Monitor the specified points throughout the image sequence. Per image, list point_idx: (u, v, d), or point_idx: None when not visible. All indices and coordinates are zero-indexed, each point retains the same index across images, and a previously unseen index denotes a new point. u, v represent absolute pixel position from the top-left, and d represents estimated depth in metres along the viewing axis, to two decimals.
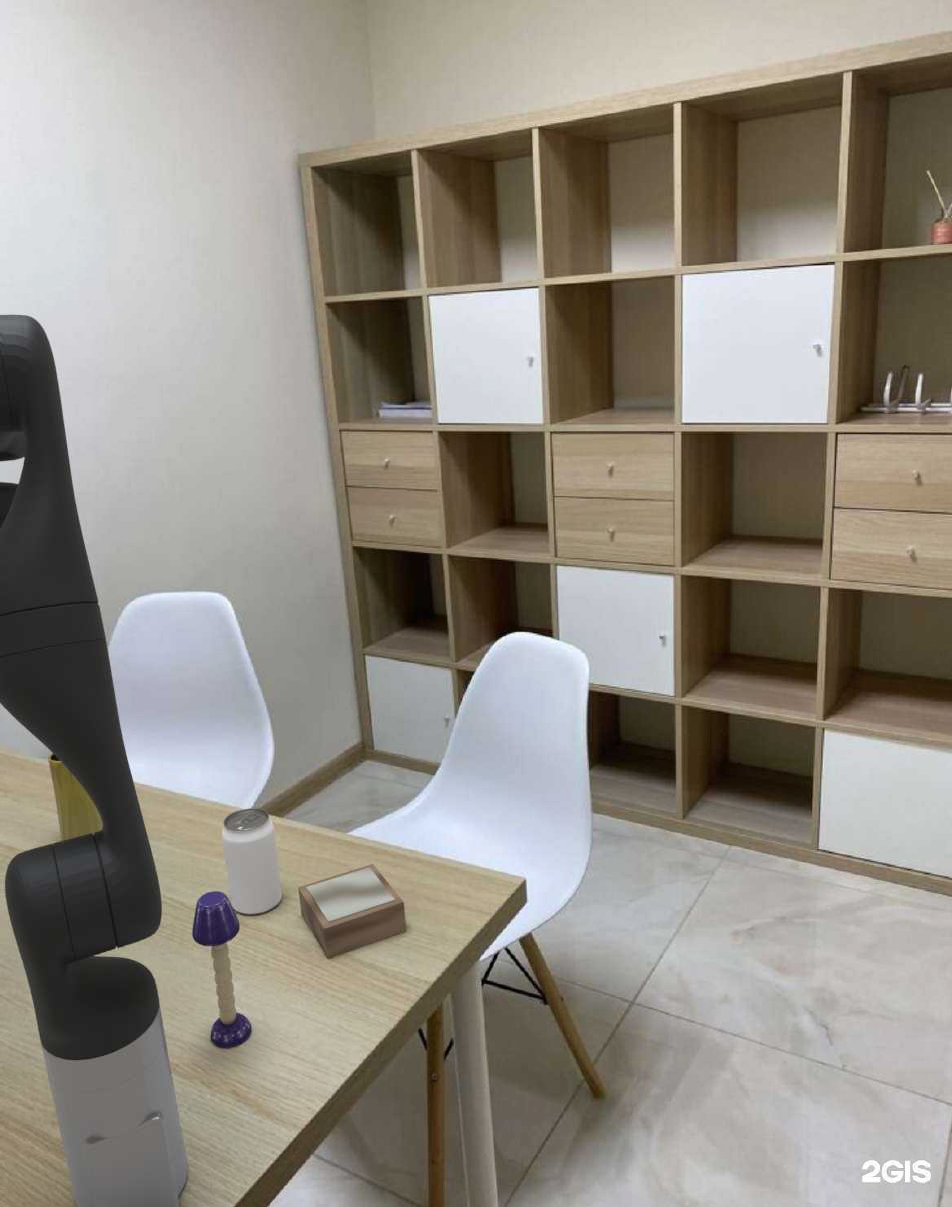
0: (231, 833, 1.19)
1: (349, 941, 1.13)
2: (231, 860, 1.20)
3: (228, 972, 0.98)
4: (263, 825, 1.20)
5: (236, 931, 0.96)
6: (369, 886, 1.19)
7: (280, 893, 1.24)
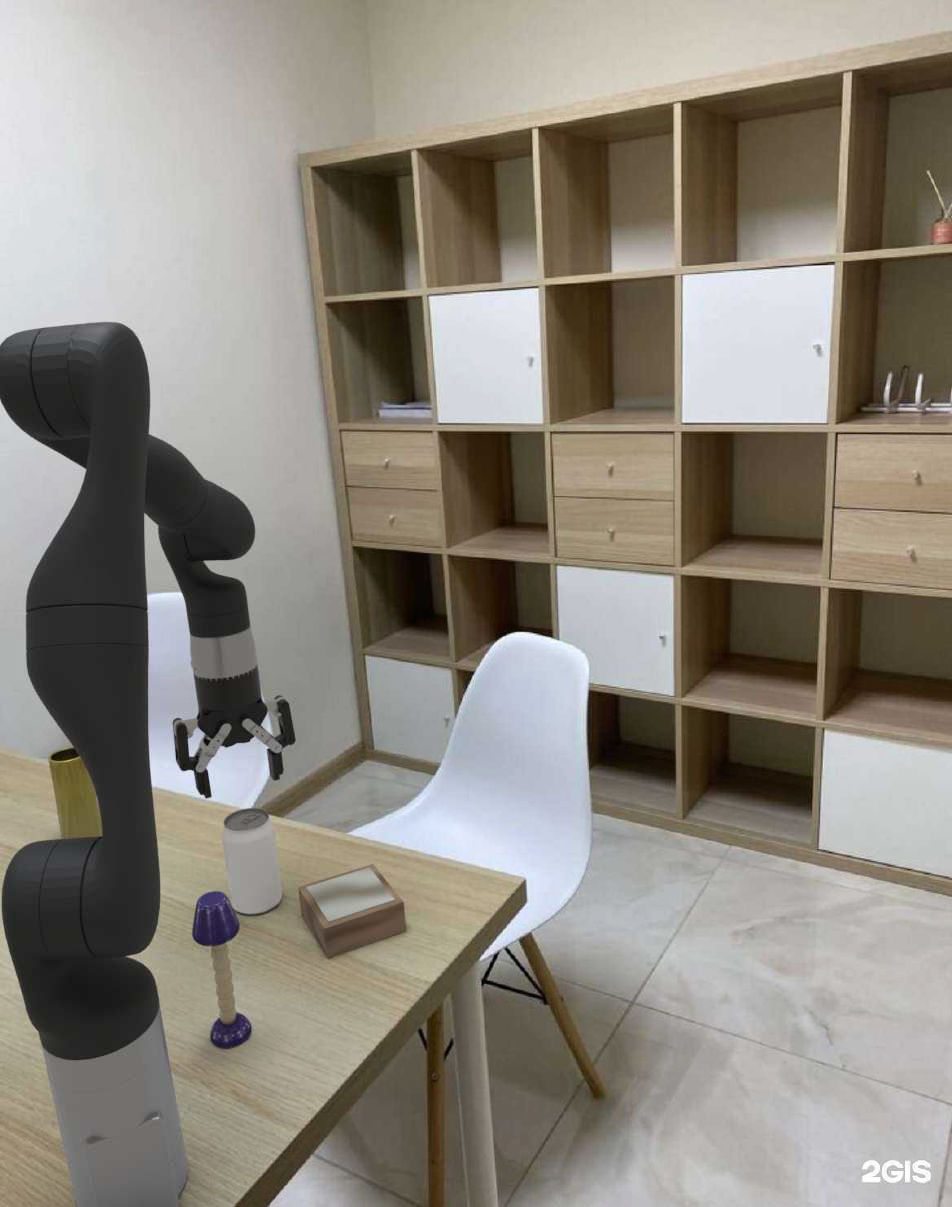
0: (231, 833, 1.19)
1: (349, 941, 1.13)
2: (231, 860, 1.20)
3: (228, 972, 0.98)
4: (263, 825, 1.20)
5: (236, 931, 0.96)
6: (369, 886, 1.19)
7: (280, 893, 1.24)
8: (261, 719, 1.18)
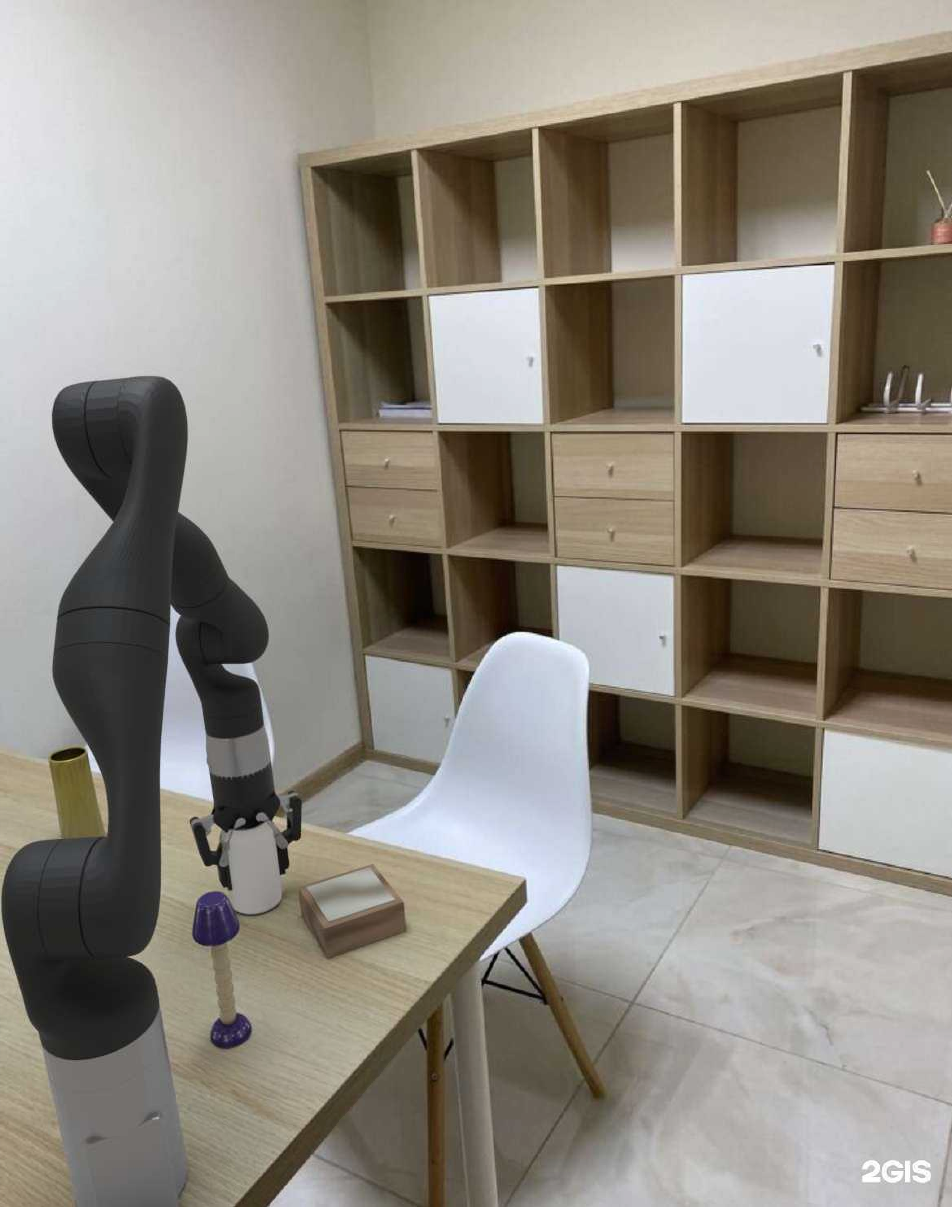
0: None
1: (349, 941, 1.13)
2: (231, 861, 1.20)
3: (228, 972, 0.98)
4: (263, 825, 1.20)
5: (236, 931, 0.96)
6: (369, 886, 1.19)
7: (280, 893, 1.24)
8: (274, 811, 1.21)
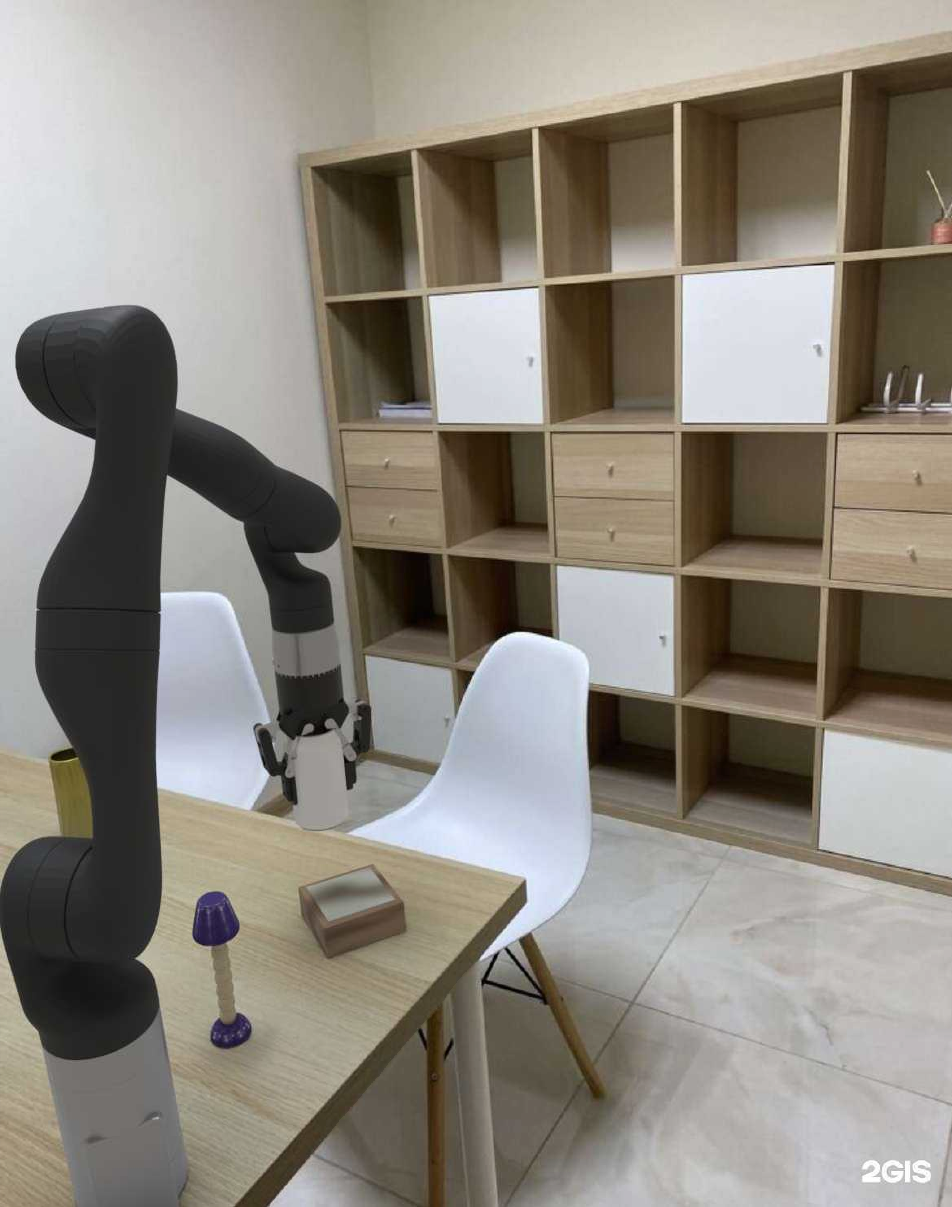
0: None
1: (349, 941, 1.13)
2: (297, 771, 1.11)
3: (228, 972, 0.98)
4: (331, 732, 1.11)
5: (236, 931, 0.96)
6: (369, 886, 1.19)
7: (347, 809, 1.15)
8: (343, 719, 1.13)
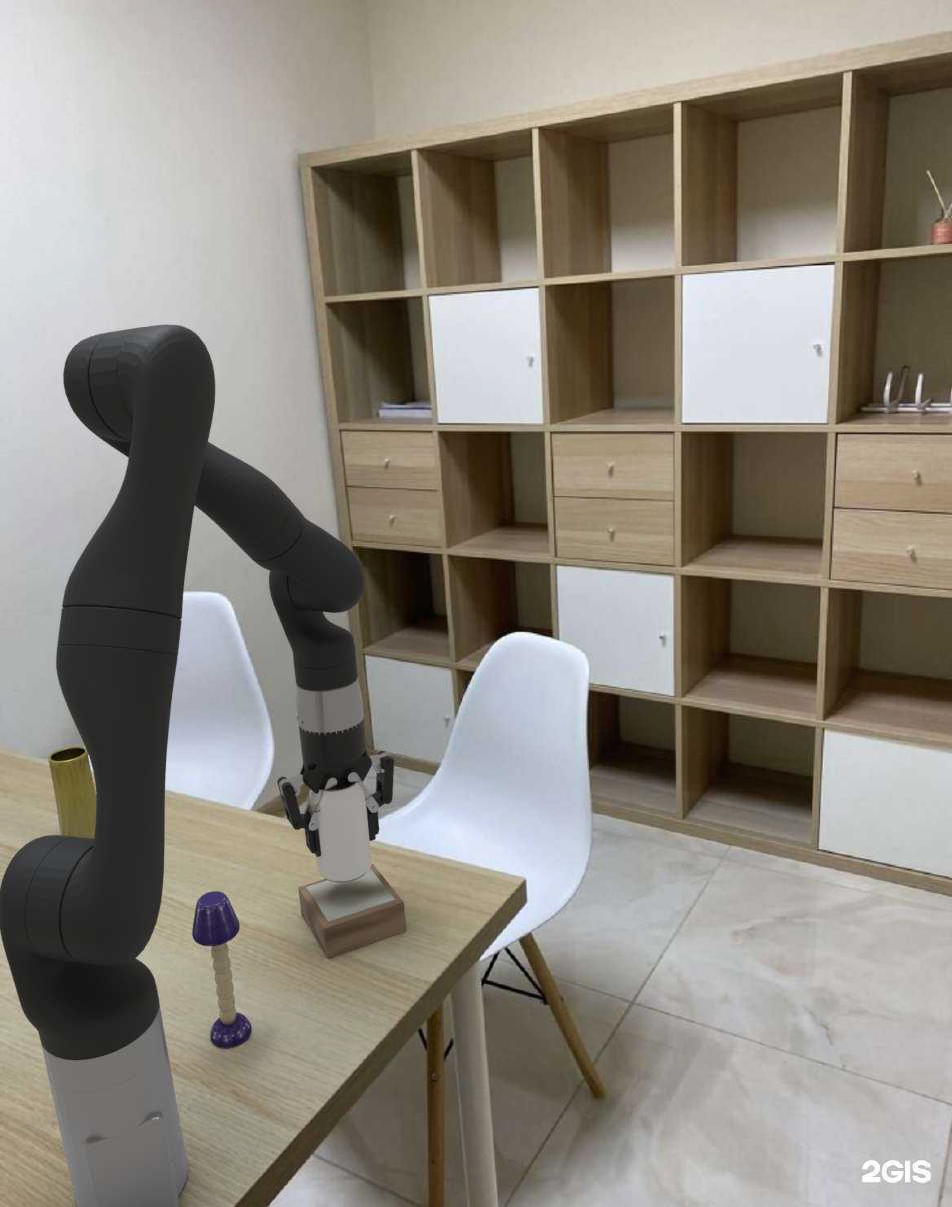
0: None
1: (349, 941, 1.13)
2: (321, 824, 1.12)
3: (228, 972, 0.98)
4: (355, 786, 1.12)
5: (236, 931, 0.96)
6: (369, 886, 1.19)
7: (370, 860, 1.16)
8: (366, 772, 1.14)
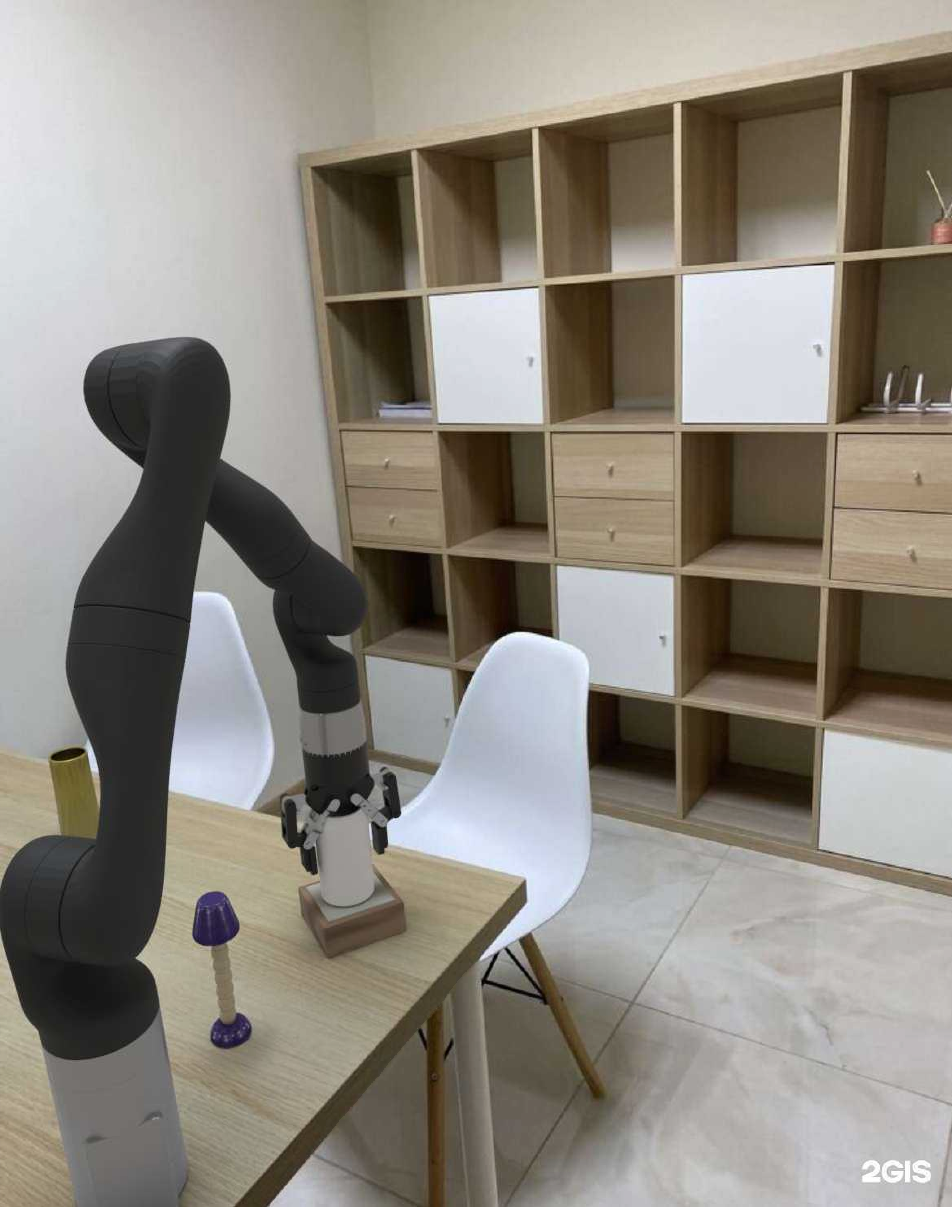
0: None
1: (349, 941, 1.13)
2: (324, 849, 1.13)
3: (228, 972, 0.98)
4: (358, 812, 1.13)
5: (236, 931, 0.96)
6: None
7: (373, 885, 1.17)
8: (368, 793, 1.14)
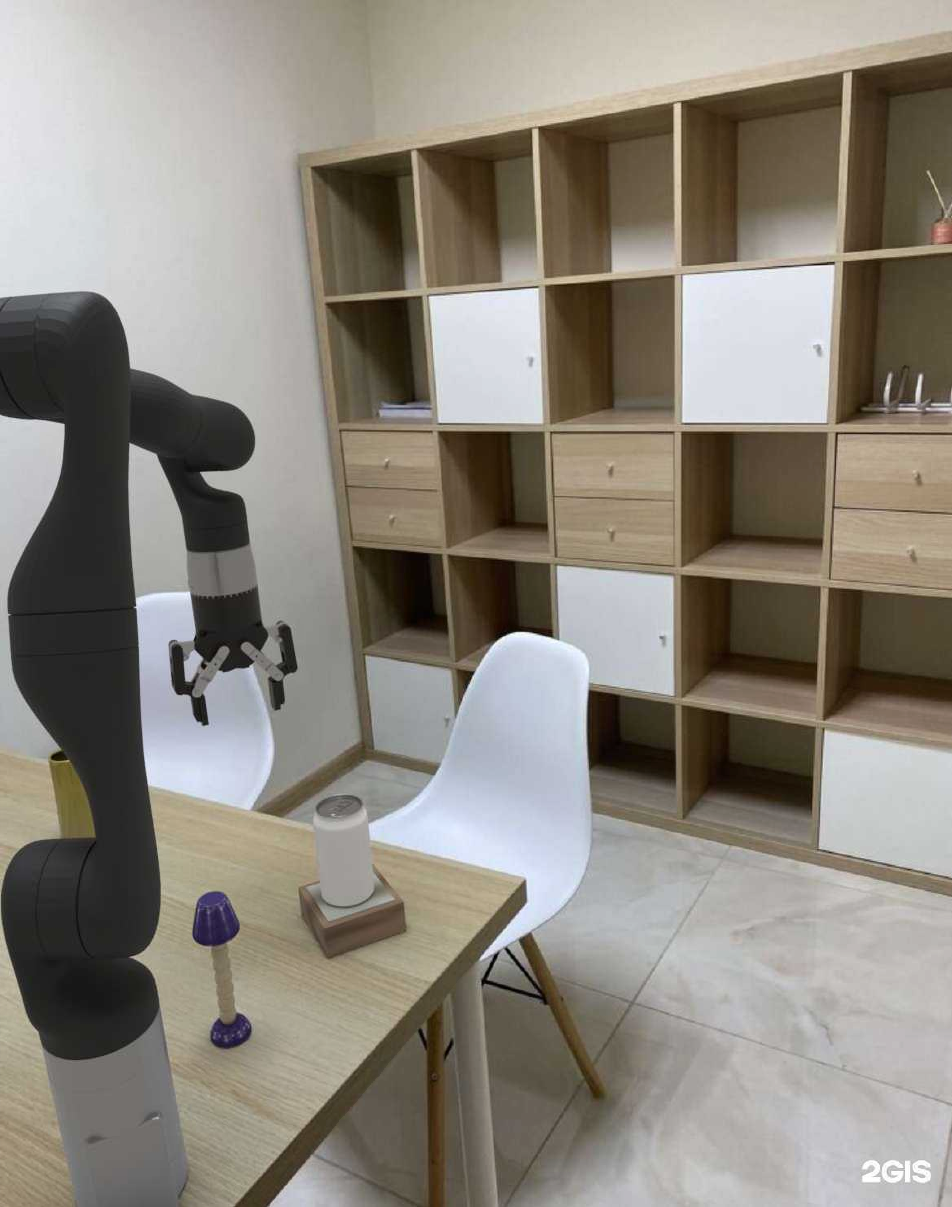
0: (324, 820, 1.12)
1: (349, 941, 1.13)
2: (324, 849, 1.13)
3: (228, 972, 0.98)
4: (357, 812, 1.13)
5: (236, 931, 0.96)
6: None
7: (372, 885, 1.17)
8: (261, 644, 1.12)
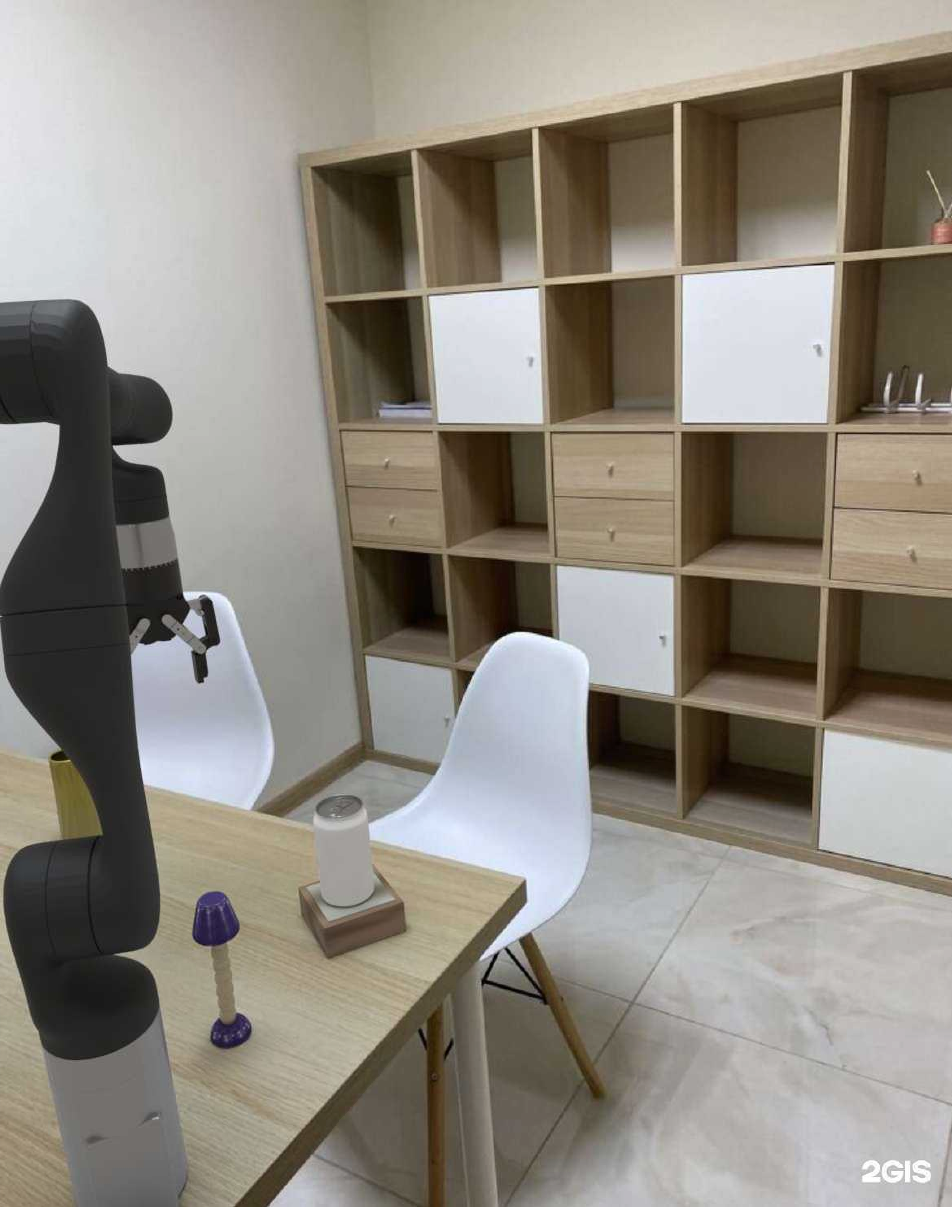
0: (324, 820, 1.12)
1: (349, 941, 1.13)
2: (324, 849, 1.13)
3: (228, 972, 0.98)
4: (357, 812, 1.13)
5: (236, 931, 0.96)
6: None
7: (373, 885, 1.17)
8: (183, 617, 1.14)
